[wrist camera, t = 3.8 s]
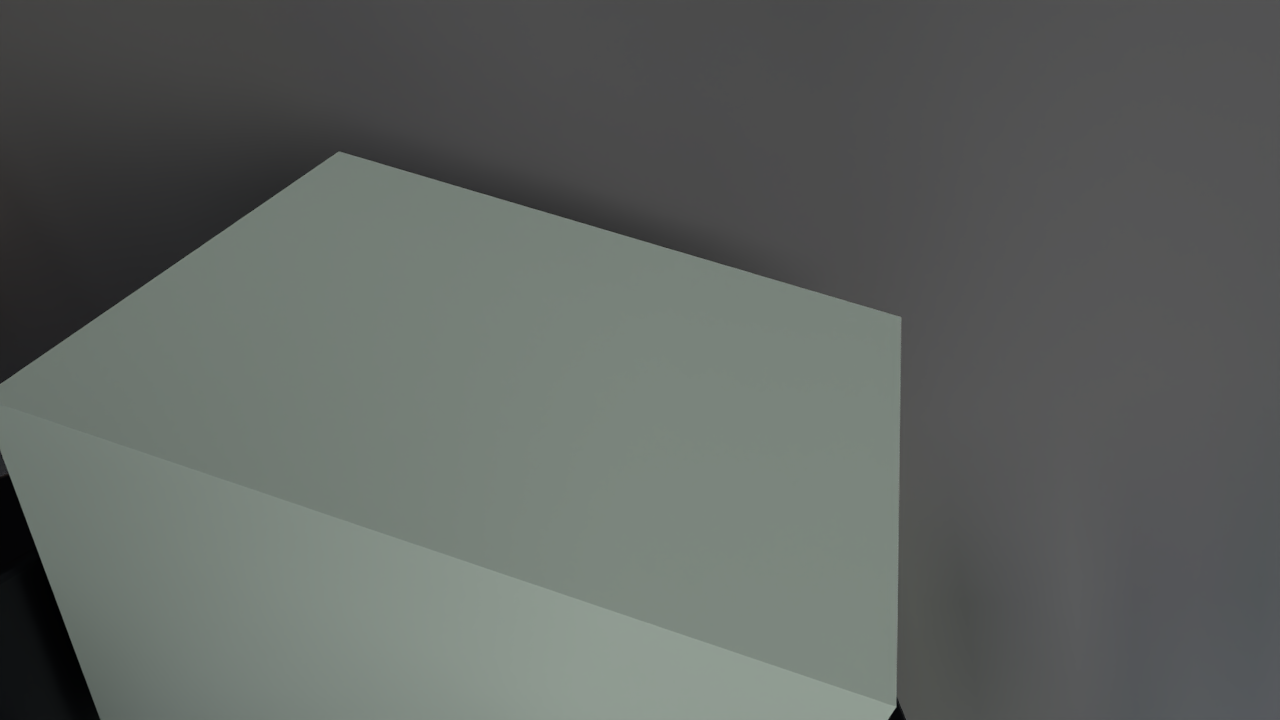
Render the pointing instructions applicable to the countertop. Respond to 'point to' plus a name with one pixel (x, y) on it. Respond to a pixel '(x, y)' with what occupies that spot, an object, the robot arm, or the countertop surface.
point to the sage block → (465, 474)
